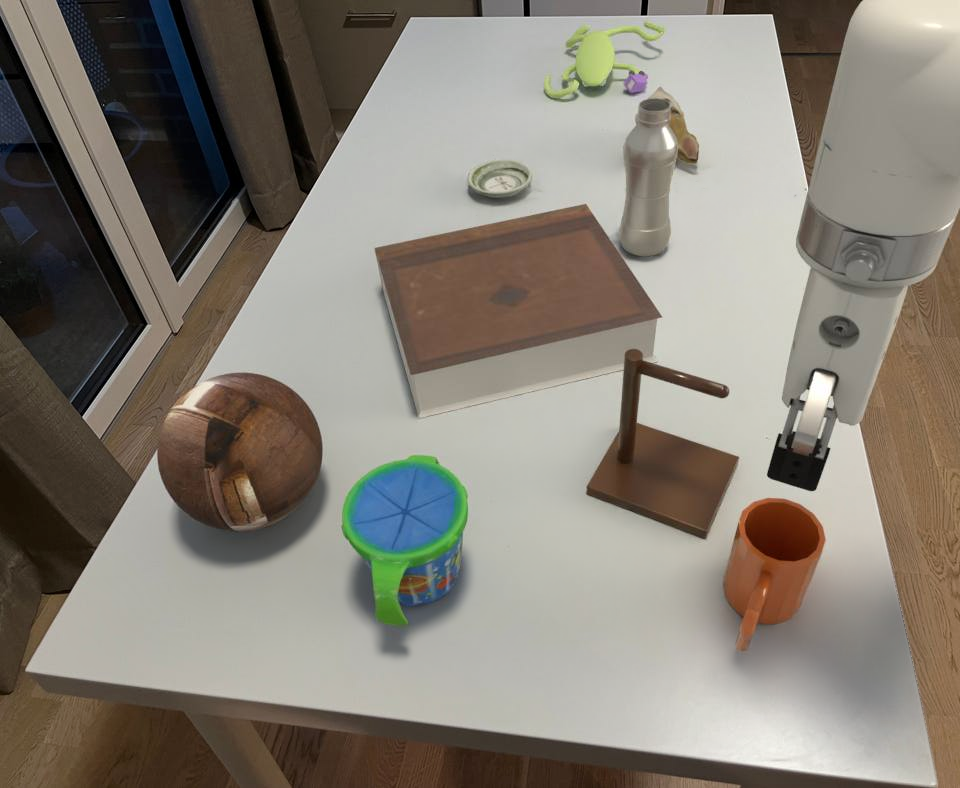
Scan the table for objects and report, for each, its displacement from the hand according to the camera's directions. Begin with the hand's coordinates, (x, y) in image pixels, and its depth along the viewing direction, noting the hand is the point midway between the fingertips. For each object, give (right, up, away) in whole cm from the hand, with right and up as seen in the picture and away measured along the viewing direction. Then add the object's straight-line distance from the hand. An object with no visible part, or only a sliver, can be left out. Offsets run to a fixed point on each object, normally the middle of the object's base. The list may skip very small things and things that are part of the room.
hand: (806, 432), depth 56 cm
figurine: (0, +62, +90) cm, 110 cm away
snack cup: (-29, -14, +17) cm, 36 cm away
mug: (0, -16, +12) cm, 20 cm away
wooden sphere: (-45, -8, +25) cm, 52 cm away
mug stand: (-5, -6, +22) cm, 24 cm away
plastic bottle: (-1, +22, +50) cm, 55 cm away
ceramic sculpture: (+5, +40, +68) cm, 79 cm away
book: (-19, +11, +41) cm, 47 cm away
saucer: (-20, +33, +64) cm, 75 cm away
